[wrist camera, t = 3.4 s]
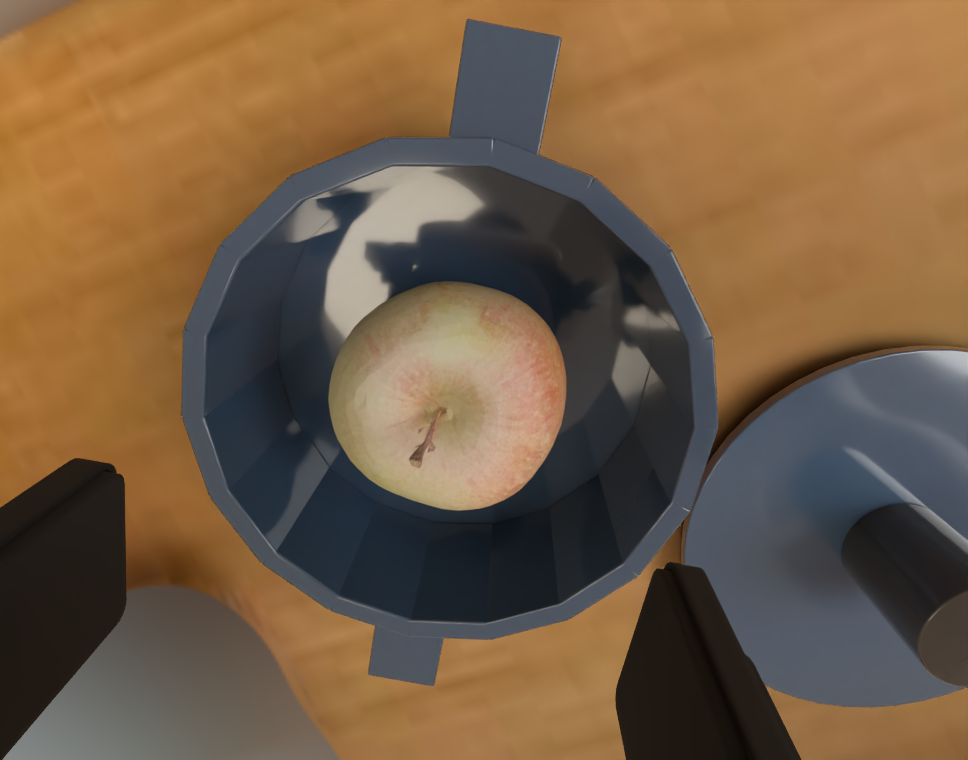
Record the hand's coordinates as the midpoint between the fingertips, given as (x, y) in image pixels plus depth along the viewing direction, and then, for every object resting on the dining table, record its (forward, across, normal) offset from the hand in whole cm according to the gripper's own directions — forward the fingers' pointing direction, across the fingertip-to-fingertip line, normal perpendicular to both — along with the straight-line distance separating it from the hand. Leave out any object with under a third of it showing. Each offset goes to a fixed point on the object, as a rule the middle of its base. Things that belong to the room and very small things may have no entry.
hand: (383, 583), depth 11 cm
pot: (+14, 0, 0) cm, 14 cm away
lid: (+13, -18, +4) cm, 23 cm away
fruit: (+14, 0, 0) cm, 14 cm away
